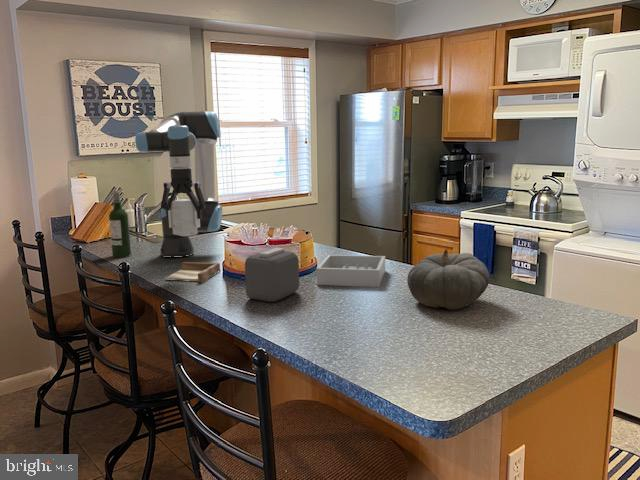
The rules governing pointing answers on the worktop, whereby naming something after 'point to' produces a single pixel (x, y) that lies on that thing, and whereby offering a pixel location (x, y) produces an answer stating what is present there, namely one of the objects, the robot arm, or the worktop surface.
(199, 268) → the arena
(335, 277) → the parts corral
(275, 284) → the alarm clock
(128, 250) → the wine bottle
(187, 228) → the small box
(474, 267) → the gourd
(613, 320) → the worktop surface
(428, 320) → the worktop surface
